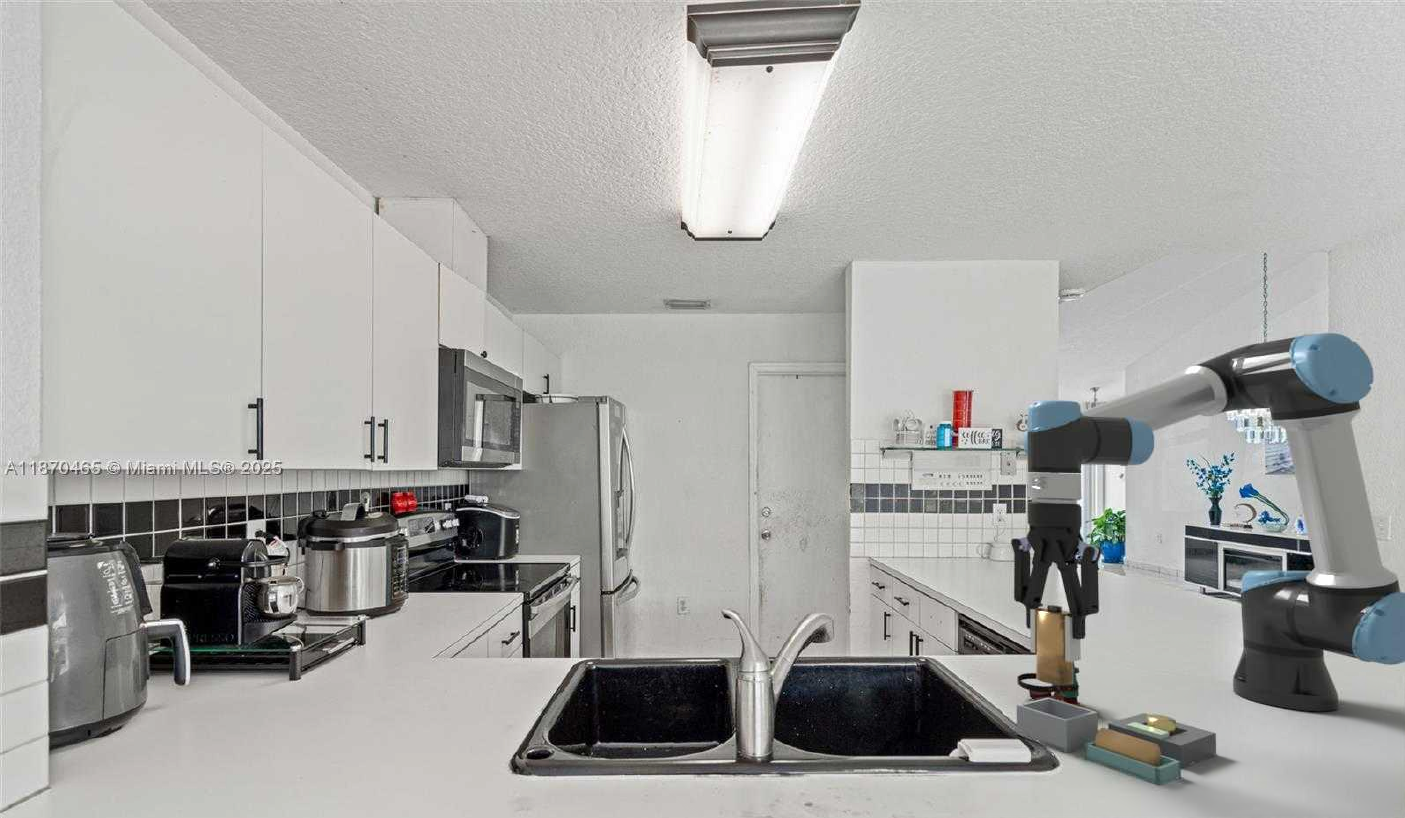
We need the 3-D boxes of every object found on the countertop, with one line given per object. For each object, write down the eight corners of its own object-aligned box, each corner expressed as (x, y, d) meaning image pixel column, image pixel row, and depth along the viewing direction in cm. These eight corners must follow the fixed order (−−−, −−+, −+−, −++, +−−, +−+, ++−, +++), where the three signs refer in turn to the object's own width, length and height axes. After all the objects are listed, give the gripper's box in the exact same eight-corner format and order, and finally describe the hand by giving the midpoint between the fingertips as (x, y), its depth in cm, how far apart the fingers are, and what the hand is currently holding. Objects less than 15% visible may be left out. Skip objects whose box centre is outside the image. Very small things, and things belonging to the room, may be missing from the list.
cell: (1048, 674, 116) (1049, 602, 117) (1079, 682, 112) (1079, 608, 113) (1029, 677, 114) (1029, 604, 115) (1060, 686, 109) (1060, 610, 110)
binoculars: (1009, 639, 136) (1068, 637, 134) (1016, 698, 135) (1075, 697, 133) (1020, 650, 127) (1083, 648, 125) (1027, 714, 126) (1091, 713, 124)
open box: (1048, 726, 118) (1048, 697, 118) (1098, 743, 111) (1097, 712, 111) (1016, 735, 114) (1016, 705, 114) (1066, 753, 107) (1066, 720, 107)
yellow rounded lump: (1154, 730, 112) (1154, 712, 112) (1180, 737, 109) (1180, 720, 109) (1142, 734, 110) (1141, 716, 110) (1168, 742, 107) (1167, 724, 107)
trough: (1106, 751, 108) (1105, 722, 108) (1180, 776, 99) (1180, 745, 100) (1084, 758, 105) (1084, 728, 105) (1159, 785, 96) (1158, 752, 97)
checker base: (1144, 732, 116) (1144, 708, 116) (1216, 754, 108) (1215, 728, 108) (1108, 744, 111) (1108, 719, 111) (1181, 768, 102) (1180, 740, 103)
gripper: (988, 498, 121) (988, 645, 119) (1097, 504, 105) (1099, 673, 104) (1017, 498, 125) (1017, 640, 123) (1126, 504, 109) (1128, 667, 108)
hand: (1055, 655), depth 113 cm, fingers closed on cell, 5 cm apart
